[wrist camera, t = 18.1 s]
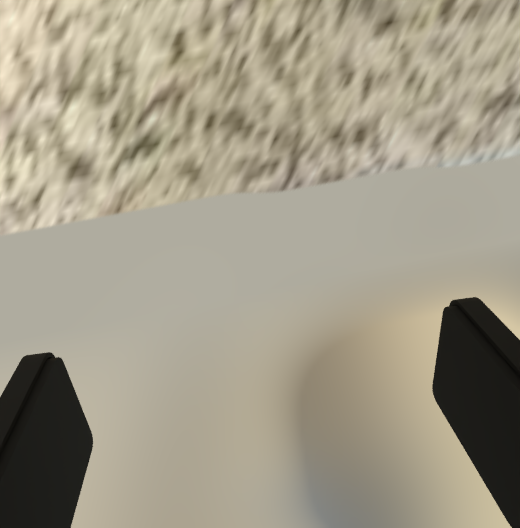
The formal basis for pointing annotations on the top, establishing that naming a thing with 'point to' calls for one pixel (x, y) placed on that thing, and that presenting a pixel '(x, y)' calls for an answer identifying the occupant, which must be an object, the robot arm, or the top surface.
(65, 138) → the top surface
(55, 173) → the top surface
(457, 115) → the top surface
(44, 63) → the top surface
